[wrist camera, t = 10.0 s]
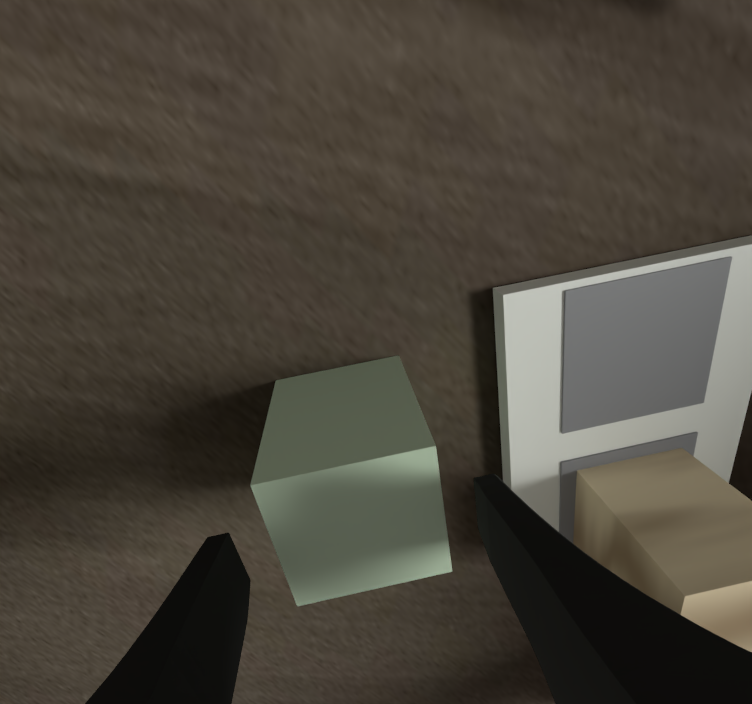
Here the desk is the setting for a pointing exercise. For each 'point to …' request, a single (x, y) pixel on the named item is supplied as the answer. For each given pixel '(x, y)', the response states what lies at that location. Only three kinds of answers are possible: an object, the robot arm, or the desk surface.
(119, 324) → the desk surface
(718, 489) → the wooden toy cube
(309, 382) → the sage post
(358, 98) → the desk surface
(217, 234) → the desk surface
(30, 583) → the desk surface
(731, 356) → the board
